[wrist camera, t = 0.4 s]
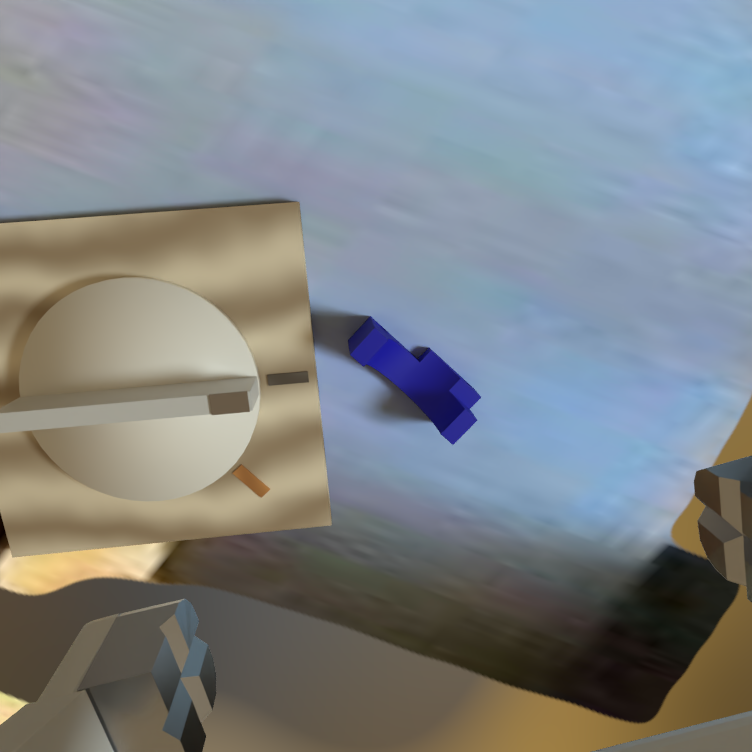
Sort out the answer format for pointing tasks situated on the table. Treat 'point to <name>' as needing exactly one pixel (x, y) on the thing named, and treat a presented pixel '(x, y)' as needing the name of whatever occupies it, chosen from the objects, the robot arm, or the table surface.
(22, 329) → the dial board
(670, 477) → the table surface
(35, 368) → the dial
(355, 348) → the blue notched block
